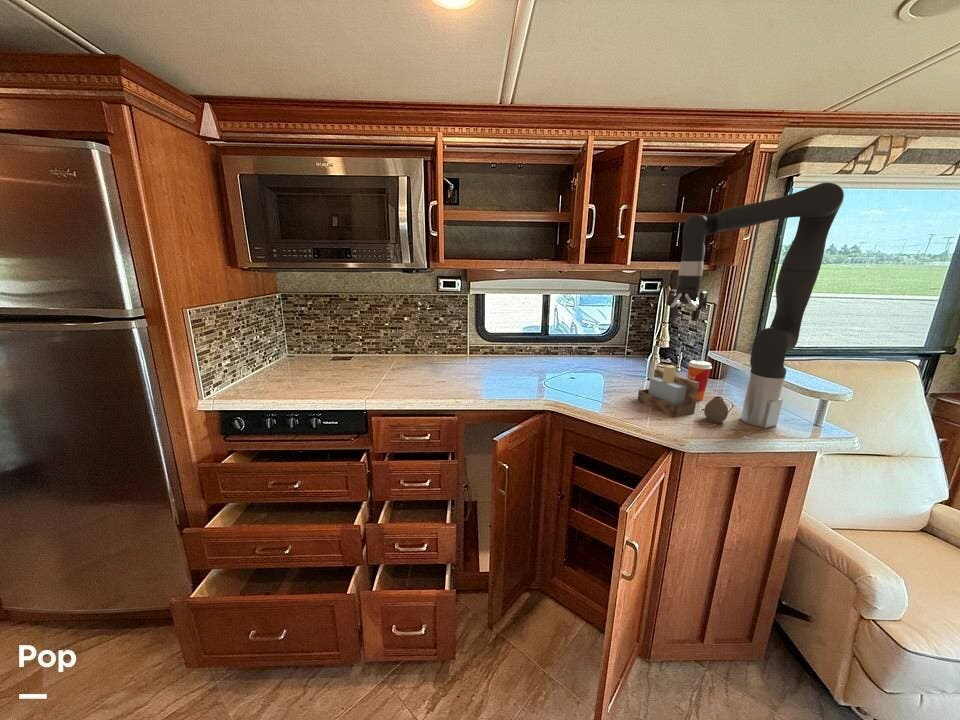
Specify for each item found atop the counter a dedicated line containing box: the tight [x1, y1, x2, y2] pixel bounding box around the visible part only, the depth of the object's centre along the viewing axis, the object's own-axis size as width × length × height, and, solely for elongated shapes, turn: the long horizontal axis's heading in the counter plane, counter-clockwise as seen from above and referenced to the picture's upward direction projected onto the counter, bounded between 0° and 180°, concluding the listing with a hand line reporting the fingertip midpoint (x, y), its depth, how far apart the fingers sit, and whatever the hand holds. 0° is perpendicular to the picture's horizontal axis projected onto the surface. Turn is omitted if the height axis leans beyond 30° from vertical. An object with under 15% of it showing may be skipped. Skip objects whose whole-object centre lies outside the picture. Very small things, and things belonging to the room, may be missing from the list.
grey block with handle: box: [648, 365, 687, 406], centre depth 137 cm, size 12×5×16 cm, turn 22°
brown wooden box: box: [637, 368, 700, 418], centre depth 137 cm, size 18×10×12 cm, turn 22°
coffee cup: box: [687, 359, 713, 402], centre depth 145 cm, size 8×8×15 cm
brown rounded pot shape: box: [703, 395, 729, 424], centre depth 125 cm, size 7×7×9 cm
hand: (683, 319), depth 135 cm, fingers open, 8 cm apart
